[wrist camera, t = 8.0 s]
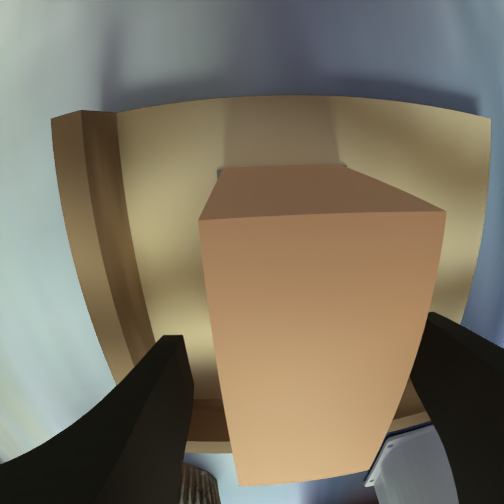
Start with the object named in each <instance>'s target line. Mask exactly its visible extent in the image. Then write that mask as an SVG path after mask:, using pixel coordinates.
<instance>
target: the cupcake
mask: <svg viewBox="0 0 504 504" xmlns="http://www.w3.org/2000/svg"><path fill="white" fill-rule="evenodd" d="M178 504H221V502H220V497H219V491H218V485H217V480H216V479H215V478H214V477H213V476H212V475H211V474H209V473H208V472H207V471H204V470H202V469H200V468H198V467H195V466H193V465H189V464H186V463H182V468H181V474H180V481H179V493H178Z"/></svg>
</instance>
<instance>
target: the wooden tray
mask: <svg viewBox="0 0 504 504" xmlns="http://www.w3.org/2000/svg"><path fill="white" fill-rule="evenodd" d="M51 129H52V141H53V151H54V160H55V168H56V175H57V182H58V188H59V194H60V200H61V206H62V211H63V216H64V221H65V226H66V231H67V235H68V240H69V244H70V248H71V252H72V256H73V260H74V264H75V268H76V272H77V275H78V279H79V282H80V286H81V289H82V293H83V296H84V299H85V302H86V305H87V309H88V312H89V315H90V318H91V321H92V323H93V326H94V329H95V332H96V335H97V338H98V340H99V343H100V346H101V348H102V351H103V353H104V356H105V358H106V361H107V363H108V366H109V368H110V371H111V373H112V375H113V378H114V380H115V382H116V385H118V384H119V383H120V382H121V381H122V380H123V379H124V378H125V376H126V375H127V374H128V373H129V372H130V371H131V370H132V369H133V368H134V367H135V366H136V365H137V363H138V362H139V361H140V360H141V359H142V358H143V357H144V356H145V354H146V353H147V352H148V351H149V350H150V349H151V348H152V347H153V345H154V344H155V343H156V342H157V341H158V340H159V339H160V338H161V337H162V336H163V335H183V337H184V342H185V346H186V351H187V355H188V360H189V364H190V368H191V373H192V377H193V381H194V396H193V410H192V417H191V422H190V427H189V432H188V438H187V443H186V448H185V453H233V452H232V447H231V442H230V437H229V432H228V427H227V421H226V416H225V410H224V405H223V399H222V393H221V387H220V381H219V375H218V369H217V363H216V357H215V350H214V344H213V337H212V330H211V323H210V316H209V309H208V302H207V294H206V287H205V279H204V271H203V262H202V254H201V245H200V236H199V227H198V219H199V217H200V215H201V213H202V211H203V209H204V206H205V204H206V202H207V200H208V198H209V196H210V194H211V192H212V190H213V188H214V186H215V184H216V182H217V180H218V178H219V176H220V174H221V172H222V170H223V169H226V168H242V167H261V166H288V165H342V166H345V167H348V168H350V169H353V170H355V171H358V172H360V173H363V174H365V175H368V176H370V177H373V178H375V179H377V180H380V181H382V182H384V183H387V184H389V185H391V186H394V187H396V188H398V189H401V190H403V191H405V192H407V193H409V194H412V195H414V196H416V197H418V198H420V199H422V200H424V201H427V202H429V203H431V204H433V205H435V206H437V207H439V208H441V209H443V210H445V211H447V214H446V223H445V230H444V237H443V244H442V250H441V256H440V261H439V267H438V272H437V277H436V282H435V286H434V291H433V295H432V300H431V304H430V308H429V312H435V313H438V314H440V315H442V316H444V317H446V318H448V319H450V320H452V321H454V322H456V323H458V324H459V325H460V324H461V321H462V317H463V314H464V311H465V307H466V304H467V300H468V297H469V293H470V289H471V285H472V281H473V277H474V273H475V268H476V264H477V259H478V254H479V249H480V244H481V238H482V232H483V226H484V219H485V212H486V204H487V195H488V185H489V172H490V152H491V119H489V118H485V117H481V116H477V115H473V114H468V113H464V112H459V111H454V110H449V109H444V108H438V107H433V106H426V105H420V104H413V103H406V102H399V101H390V100H381V99H371V98H358V97H343V96H321V95H266V96H243V97H228V98H215V99H204V100H195V101H186V102H178V103H171V104H164V105H157V106H151V107H145V108H139V109H134V110H128V111H123V112H118V113H113V112H101V111H87V110H79V111H76V112H72V113H69V114H65V115H62V116H58V117H55V118H52V119H51ZM427 421H431V419H430V418H429V416H428V414H427V412H426V410H425V408H424V406H423V404H422V402H421V400H420V399H419V397H418V395H417V393H416V391H415V389H414V387H413V384H412V382H411V379H410V376H409V378H408V381H407V384H406V387H405V389H404V392H403V395H402V397H401V400H400V403H399V405H398V408H397V410H396V413H395V415H394V417H393V420H392V422H391V424H390V427H389V429H388V431H387V433H388V432H392V431H396V430H400V429H404V428H407V427H411V426H414V425H418V424H421V423H424V422H427Z"/></svg>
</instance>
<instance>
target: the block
mask: <svg viewBox="0 0 504 504" xmlns="http://www.w3.org/2000/svg"><path fill="white" fill-rule="evenodd" d="M446 214H447V211H445V210H443V209H441V208H439V207H437V206H435V205H433V204H431V203H429V202H427V201H424V200H422V199H420V198H418V197H416V196H414V195H412V194H409V193H407V192H405V191H403V190H401V189H398V188H396V187H394V186H391V185H389V184H387V183H384V182H382V181H380V180H377V179H375V178H373V177H370V176H368V175H365V174H363V173H360V172H358V171H355V170H353V169H350V168H348V167H345V166H342V165H288V166H261V167H242V168H226V169H223V170H222V172H221V174H220V176H219V178H218V180H217V182H216V184H215V186H214V188H213V190H212V192H211V194H210V196H209V198H208V200H207V202H206V204H205V206H204V209H203V211H202V213H201V215H200V217H199V219H198V227H199V236H200V245H201V254H202V262H203V271H204V279H205V287H206V294H207V302H208V309H209V316H210V323H211V330H212V337H213V344H214V350H215V357H216V363H217V369H218V375H219V381H220V387H221V393H222V399H223V405H224V410H225V416H226V421H227V427H228V432H229V437H230V442H231V447H232V452H233V457H234V462H235V467H236V472H237V477H238V481H239V486H257V485H273V484H285V483H295V482H303V481H311V480H318V479H324V478H330V477H336V476H342V475H347V474H352V473H357V472H361V471H366V470H369V469H370V467H371V465H372V463H373V461H374V459H375V457H376V455H377V453H378V451H379V449H380V447H381V444H382V442H383V440H384V438H385V436H386V433H387V431H388V429H389V427H390V424H391V422H392V420H393V417H394V415H395V413H396V410H397V408H398V405H399V403H400V400H401V397H402V395H403V392H404V389H405V387H406V384H407V381H408V378H409V376H410V373H411V370H412V367H413V364H414V361H415V358H416V354H417V351H418V348H419V345H420V341H421V338H422V334H423V331H424V327H425V324H426V320H427V316H428V312H429V308H430V304H431V300H432V295H433V291H434V286H435V282H436V277H437V272H438V267H439V261H440V256H441V250H442V244H443V237H444V230H445V223H446Z"/></svg>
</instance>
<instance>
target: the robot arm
mask: <svg viewBox="0 0 504 504" xmlns="http://www.w3.org/2000/svg"><path fill="white" fill-rule="evenodd" d="M410 379H411V382H412V384H413V387H414V389H415V391H416V393H417V395H418V397H419V399H420V400H421V402H422V404H423V406H424V408H425V410H426V412H427V414H428V416H429V418H430V419H431V421H432V423H433V425H430V426H426V427H423V428H420V429H417V430H413V431H410V432H407V433H403V434H399V435H396V436H392V437H390V438H388V439H387V440H386V441H385V444H384V446H383V448H382V450H381V452H380V454H379V456H378V458H377V460H376V462H375V464H374V466H373V468H372V470H371V472H370V473H369V475H368V477H367V479H366V481H365V483H364V485H365V487H368V486H373V485H374V488H375V491H376V494H377V498H378V501H379V504H504V349H503V348H501V347H499V346H497V345H496V344H494V343H492V342H490V341H488V340H486V339H484V338H483V337H481V336H479V335H477V334H475V333H474V332H472V331H470V330H468V329H467V328H465V327H463V326H461V325H459V324H458V323H456V322H454V321H452V320H450V319H448V318H446V317H444V316H442V315H440V314H438V313H435V312H428V316H427V320H426V324H425V327H424V331H423V334H422V338H421V341H420V345H419V348H418V351H417V354H416V358H415V361H414V364H413V367H412V370H411V373H410ZM193 396H194V381H193V377H192V373H191V368H190V364H189V360H188V355H187V351H186V346H185V342H184V337H183V335H163V336H162V337H161V338H160V339H159V340H158V341H157V342H156V343H155V344H154V345H153V347H152V348H151V349H150V350H149V351H148V352H147V353H146V354H145V356H144V357H143V358H142V359H141V360H140V361H139V362H138V363H137V365H136V366H135V367H134V368H133V369H132V370H131V371H130V372H129V373H128V374H127V375H126V376H125V378H124V379H123V380H122V381H121V382H120V383H119V384H118V385H117V386H116V387H115V388H114V389H113V390H112V391H111V392H110V393H109V394H108V395H106V396H105V397H104V398H103V399H102V400H101V401H100V402H99V403H98V404H97V405H96V406H95V407H93V408H92V409H91V410H90V411H89V412H87V413H86V414H85V415H84V416H82V417H81V418H80V419H79V420H77V421H76V422H75V423H73V424H72V425H71V426H69V427H68V428H66V429H65V430H63V431H62V432H60V433H59V434H57V435H56V436H54V437H53V438H51V439H50V440H48V441H46V442H45V443H43V444H42V445H40V446H38V447H36V448H34V449H33V450H31V451H29V452H27V453H25V454H23V455H21V456H19V457H17V458H14V459H12V460H10V461H8V462H5V463H3V464H0V504H178V493H179V481H180V474H181V468H182V463H183V458H184V453H185V448H186V443H187V438H188V432H189V427H190V422H191V417H192V410H193Z"/></svg>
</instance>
